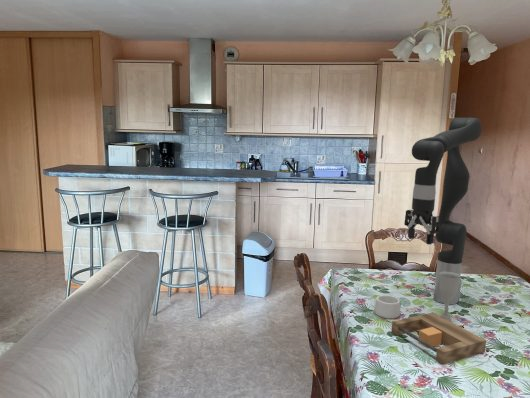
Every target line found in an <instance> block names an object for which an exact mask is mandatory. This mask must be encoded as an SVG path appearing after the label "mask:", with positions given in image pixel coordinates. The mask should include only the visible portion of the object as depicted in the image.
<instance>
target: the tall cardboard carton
mask: <svg viewBox="0 0 530 398" xmlns="http://www.w3.org/2000/svg"><path fill="white" fill-rule="evenodd" d="M418 332H419V333H418V337H419V338H420V339H422V340H424V341H425V342H427V343H429V344H430V345H432V346H434V347H437V346H440V345H442V342H441V339H442V332H441V331H439V330H437V329H436V328H434V327H430V328H426V329H422V330H418ZM417 342H418V341H417ZM418 343H419V344H420V345H421V346H423V347H425V348H426V349H429V348H428V347H426V346H425V345H423V344H422V343H420V342H418Z"/></svg>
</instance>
